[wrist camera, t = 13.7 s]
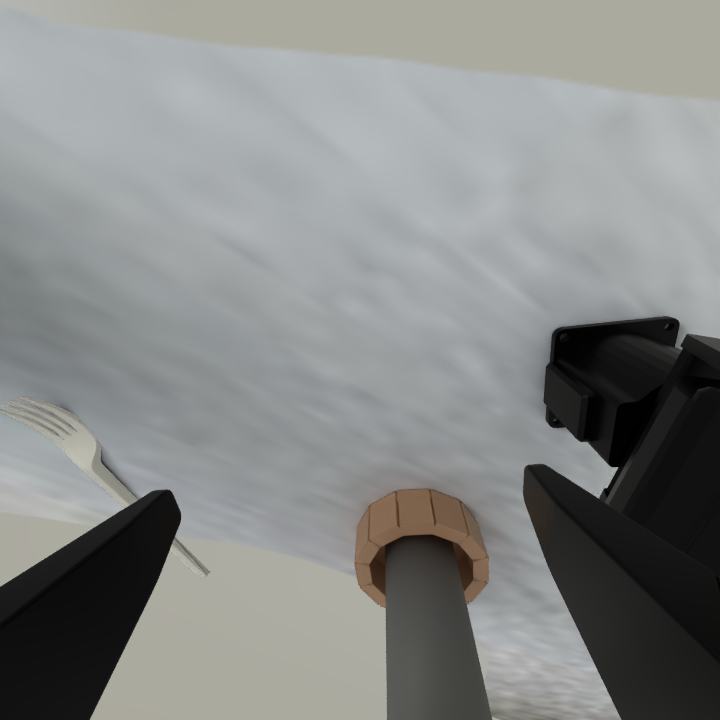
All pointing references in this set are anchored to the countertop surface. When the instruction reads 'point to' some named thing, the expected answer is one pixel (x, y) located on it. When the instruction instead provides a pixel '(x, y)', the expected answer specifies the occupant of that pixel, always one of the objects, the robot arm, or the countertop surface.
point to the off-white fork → (87, 458)
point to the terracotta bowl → (419, 517)
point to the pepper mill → (429, 635)
